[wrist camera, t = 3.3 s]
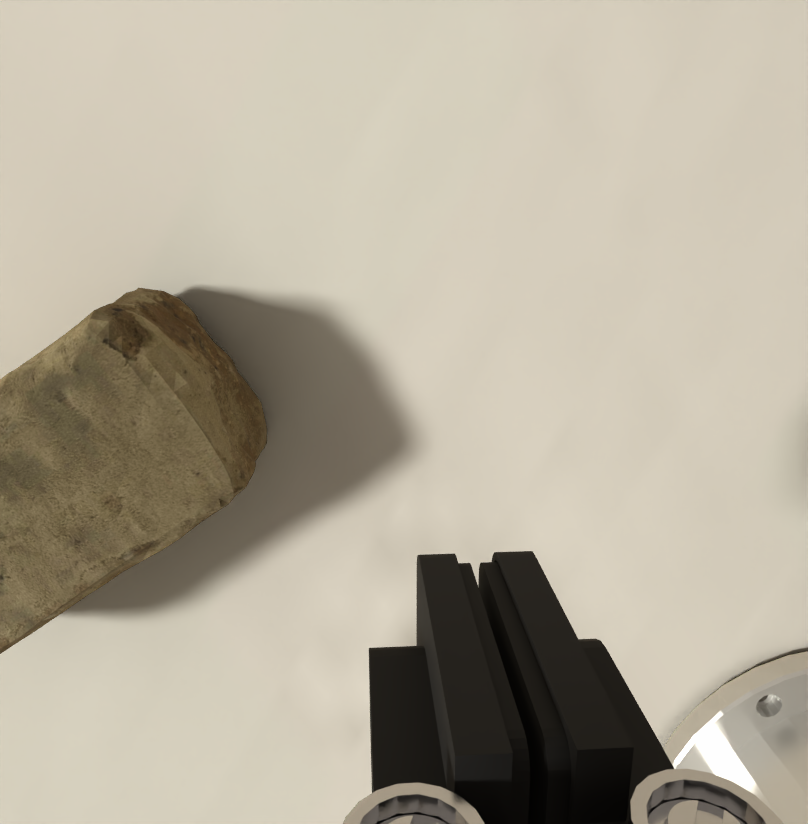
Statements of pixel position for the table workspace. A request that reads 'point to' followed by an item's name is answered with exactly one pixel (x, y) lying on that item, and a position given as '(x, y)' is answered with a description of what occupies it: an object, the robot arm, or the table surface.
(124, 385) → the stone block
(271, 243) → the table surface
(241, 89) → the table surface
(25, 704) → the table surface
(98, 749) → the table surface
